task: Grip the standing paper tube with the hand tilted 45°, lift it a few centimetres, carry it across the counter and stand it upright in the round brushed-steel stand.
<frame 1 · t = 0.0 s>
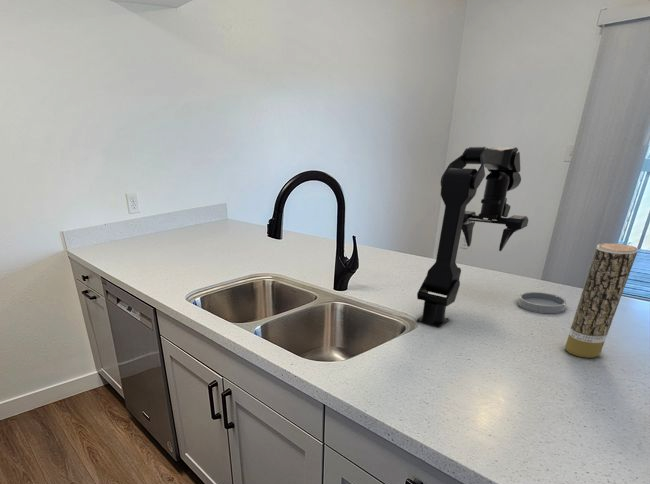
hand: (484, 248, 132), 15 cm above the worktop, tool pointing down, fingers open, 9 cm apart
stand: (540, 305, 128), on the worktop
paper tube: (581, 353, 102), on the worktop
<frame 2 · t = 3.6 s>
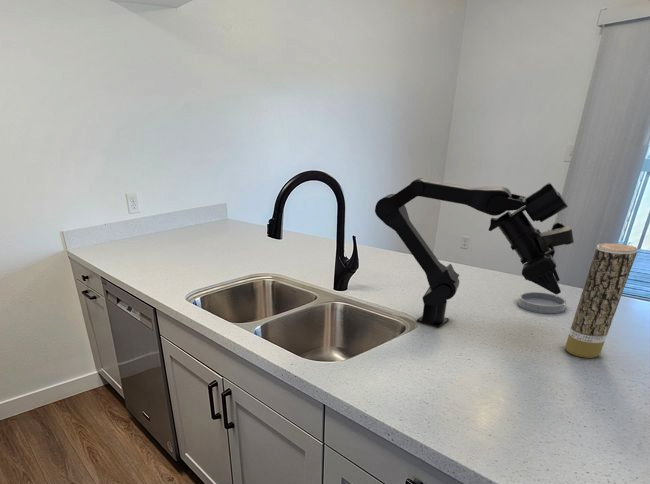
hand: (558, 287, 104), 14 cm above the worktop, tool tilted 40°, fingers open, 9 cm apart
nothing on the worktop moved.
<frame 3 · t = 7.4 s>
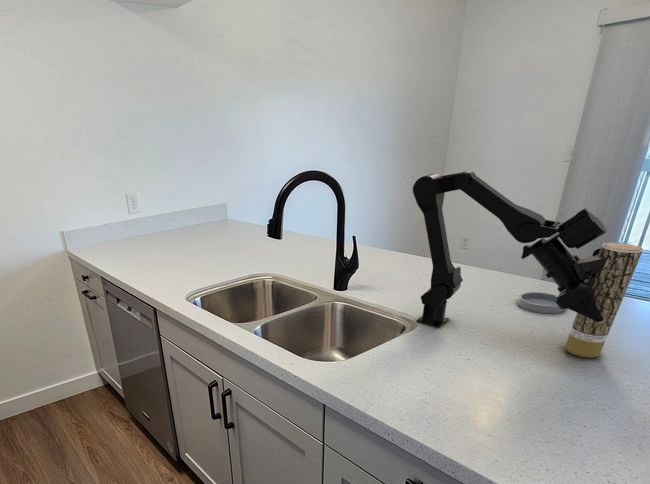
hand: (602, 315, 97), 10 cm above the worktop, tool tilted 45°, fingers closed on paper tube, 7 cm apart
paper tube: (580, 353, 102), on the worktop, touching gripper
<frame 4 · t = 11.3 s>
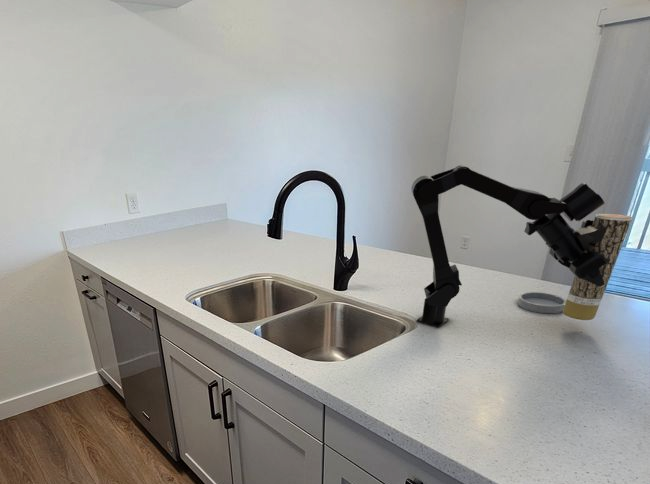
hand: (596, 280, 107), 13 cm above the worktop, tool tilted 45°, fingers closed on paper tube, 7 cm apart
paper tube: (577, 317, 111), point 4 cm above the worktop, touching gripper
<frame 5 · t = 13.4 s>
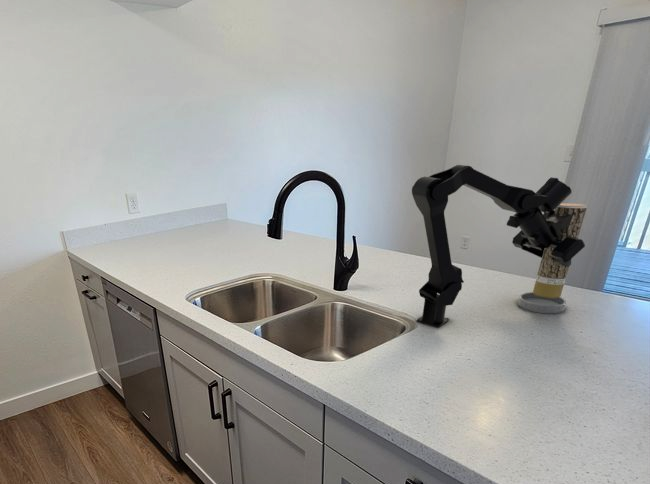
hand: (558, 262, 121), 13 cm above the worktop, tool tilted 45°, fingers closed on paper tube, 7 cm apart
paper tube: (545, 296, 125), point 4 cm above the worktop, touching gripper
when the fingers open (10 cm above the worktop, at t = 15.5 s): paper tube stays where it is, resting on stand.
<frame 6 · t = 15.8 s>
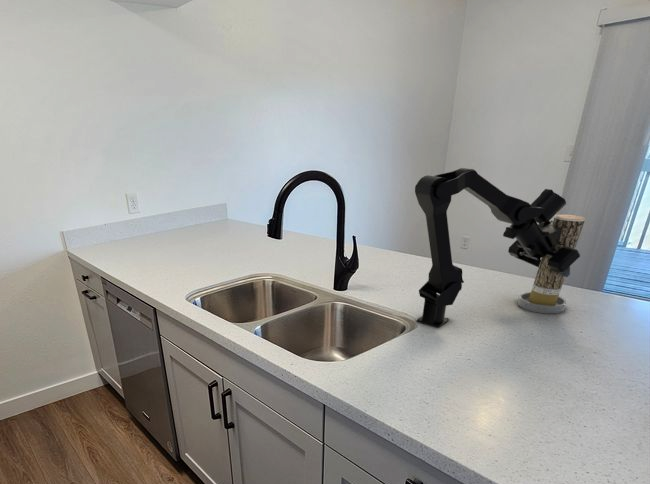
hand: (554, 271, 123), 10 cm above the worktop, tool tilted 45°, fingers open, 9 cm apart
paper tube: (540, 305, 127), resting on stand, touching gripper
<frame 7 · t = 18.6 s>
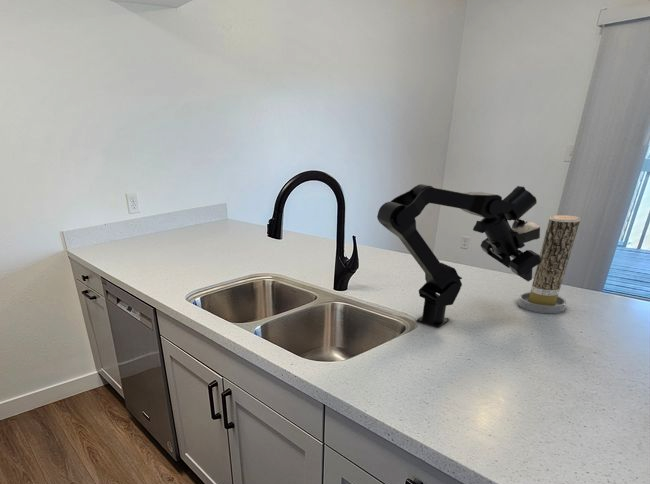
hand: (519, 273, 122), 11 cm above the worktop, tool tilted 40°, fingers open, 9 cm apart
paper tube: (540, 305, 127), resting on stand
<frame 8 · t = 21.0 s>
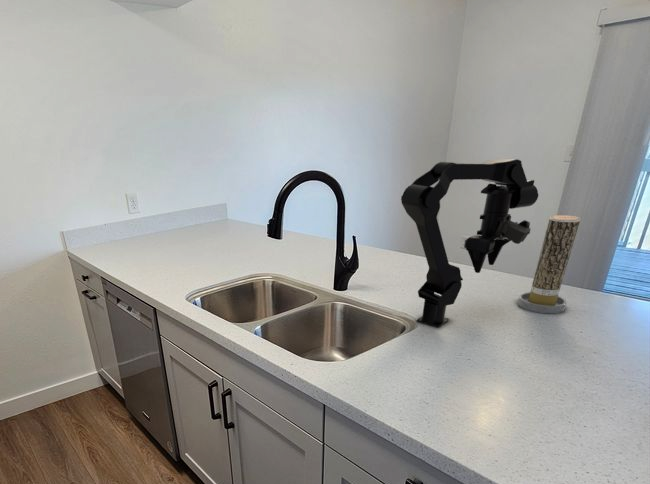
hand: (484, 268, 121), 13 cm above the worktop, tool pointing down, fingers open, 9 cm apart
nothing on the worktop moved.
at the end: paper tube 0.6 cm off-centre in the stand, point 0.3 cm above the stand's base; paper tube tilted 0°; the gripper is holding nothing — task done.
